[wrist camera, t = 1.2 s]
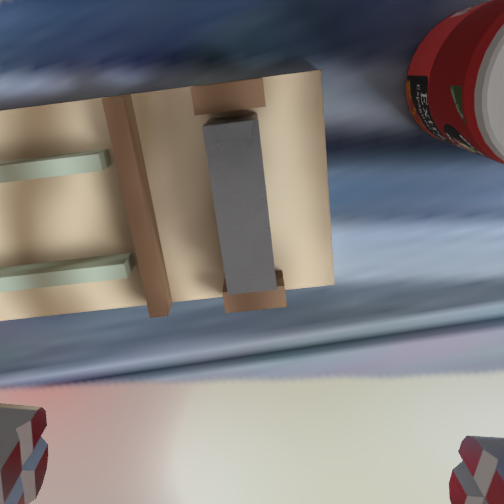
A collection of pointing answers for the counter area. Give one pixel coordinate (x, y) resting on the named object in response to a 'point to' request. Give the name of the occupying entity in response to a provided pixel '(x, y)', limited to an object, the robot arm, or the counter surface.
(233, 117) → the bar
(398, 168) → the counter surface
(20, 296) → the lock board
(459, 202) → the counter surface
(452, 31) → the canned food
